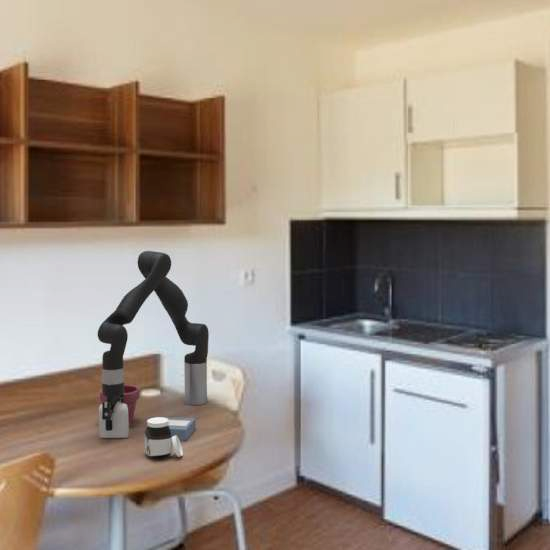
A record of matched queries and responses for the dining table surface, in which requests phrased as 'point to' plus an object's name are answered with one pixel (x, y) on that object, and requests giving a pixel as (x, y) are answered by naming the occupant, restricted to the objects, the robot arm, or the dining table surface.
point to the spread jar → (160, 439)
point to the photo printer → (115, 423)
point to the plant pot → (127, 399)
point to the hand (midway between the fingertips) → (113, 426)
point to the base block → (182, 427)
